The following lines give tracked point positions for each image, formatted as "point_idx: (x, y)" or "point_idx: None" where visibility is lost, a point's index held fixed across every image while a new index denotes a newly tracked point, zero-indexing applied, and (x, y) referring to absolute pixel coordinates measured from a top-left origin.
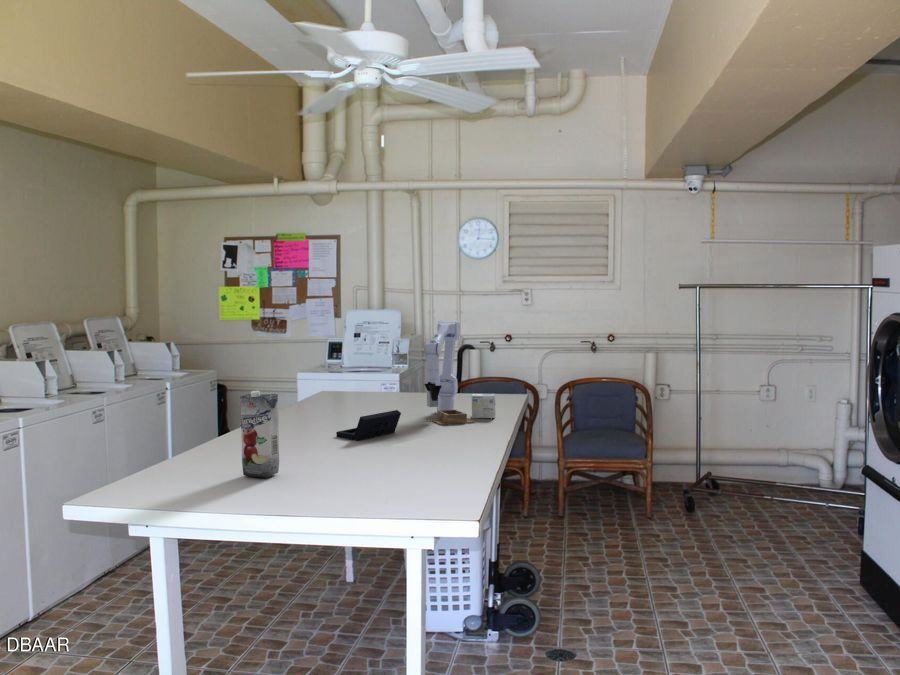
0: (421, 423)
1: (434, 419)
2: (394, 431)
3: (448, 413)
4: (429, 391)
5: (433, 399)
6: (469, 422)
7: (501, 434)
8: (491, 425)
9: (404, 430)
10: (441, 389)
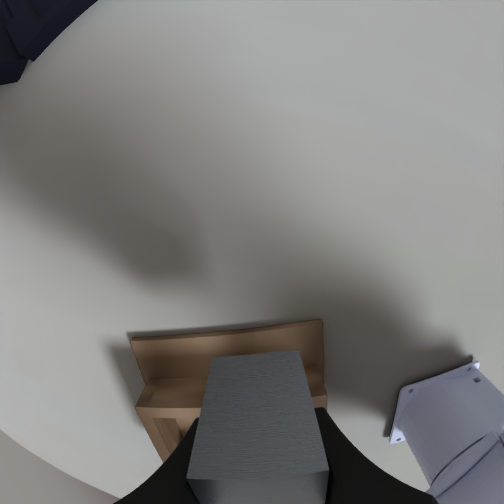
0: (221, 246)
1: (293, 344)
2: (9, 81)
3: None
4: (190, 478)
5: (191, 431)
6: None
7: (8, 428)
8: (129, 478)
9: (42, 122)
10: (484, 476)
